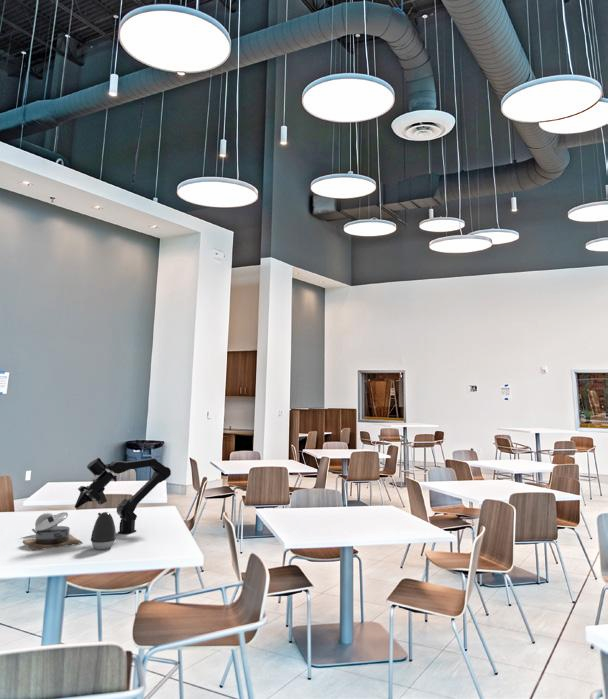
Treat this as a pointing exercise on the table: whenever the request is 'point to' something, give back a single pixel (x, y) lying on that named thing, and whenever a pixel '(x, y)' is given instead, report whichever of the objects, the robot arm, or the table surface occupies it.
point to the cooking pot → (53, 535)
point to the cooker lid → (50, 522)
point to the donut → (43, 518)
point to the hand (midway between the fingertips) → (75, 507)
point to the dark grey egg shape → (103, 531)
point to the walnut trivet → (35, 546)
